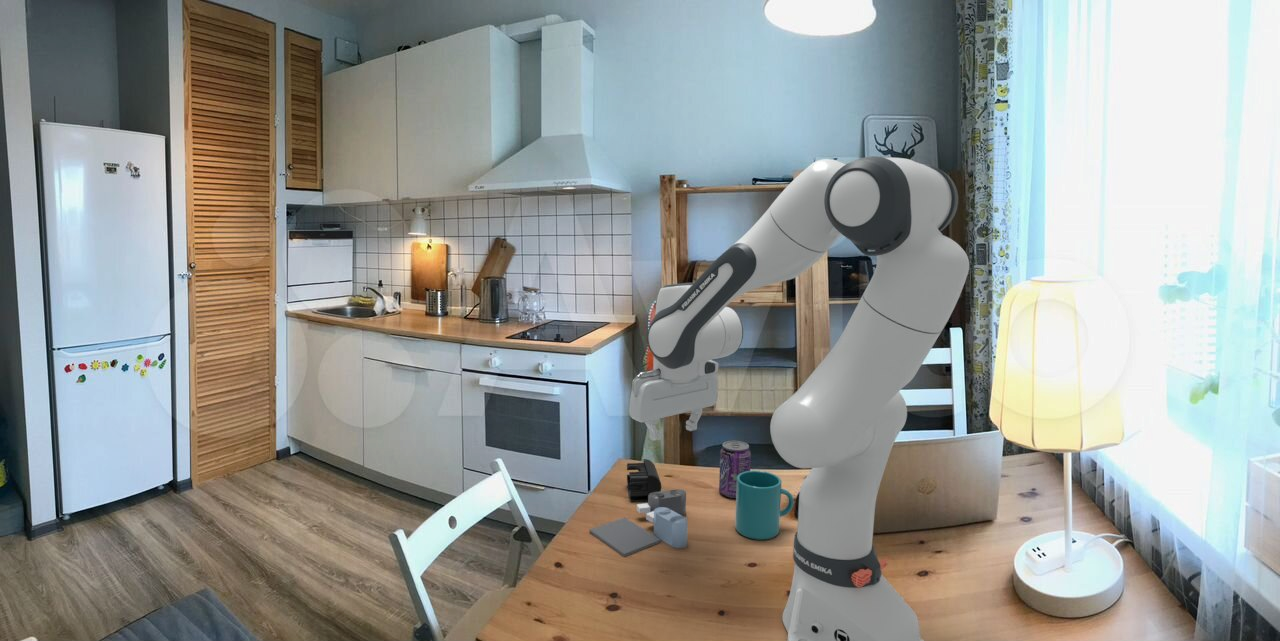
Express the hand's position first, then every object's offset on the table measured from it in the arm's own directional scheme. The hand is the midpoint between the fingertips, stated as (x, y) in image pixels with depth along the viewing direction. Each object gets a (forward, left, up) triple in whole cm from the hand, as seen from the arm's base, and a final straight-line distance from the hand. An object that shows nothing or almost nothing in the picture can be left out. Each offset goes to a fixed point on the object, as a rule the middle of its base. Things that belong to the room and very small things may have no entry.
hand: (673, 434), depth 121 cm
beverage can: (+7, -26, -22) cm, 35 cm away
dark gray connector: (+9, -5, -22) cm, 24 cm away
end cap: (+20, -9, -22) cm, 31 cm away
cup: (-9, -18, -22) cm, 30 cm away
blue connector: (+1, 0, -22) cm, 22 cm away
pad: (+6, +7, -22) cm, 24 cm away
